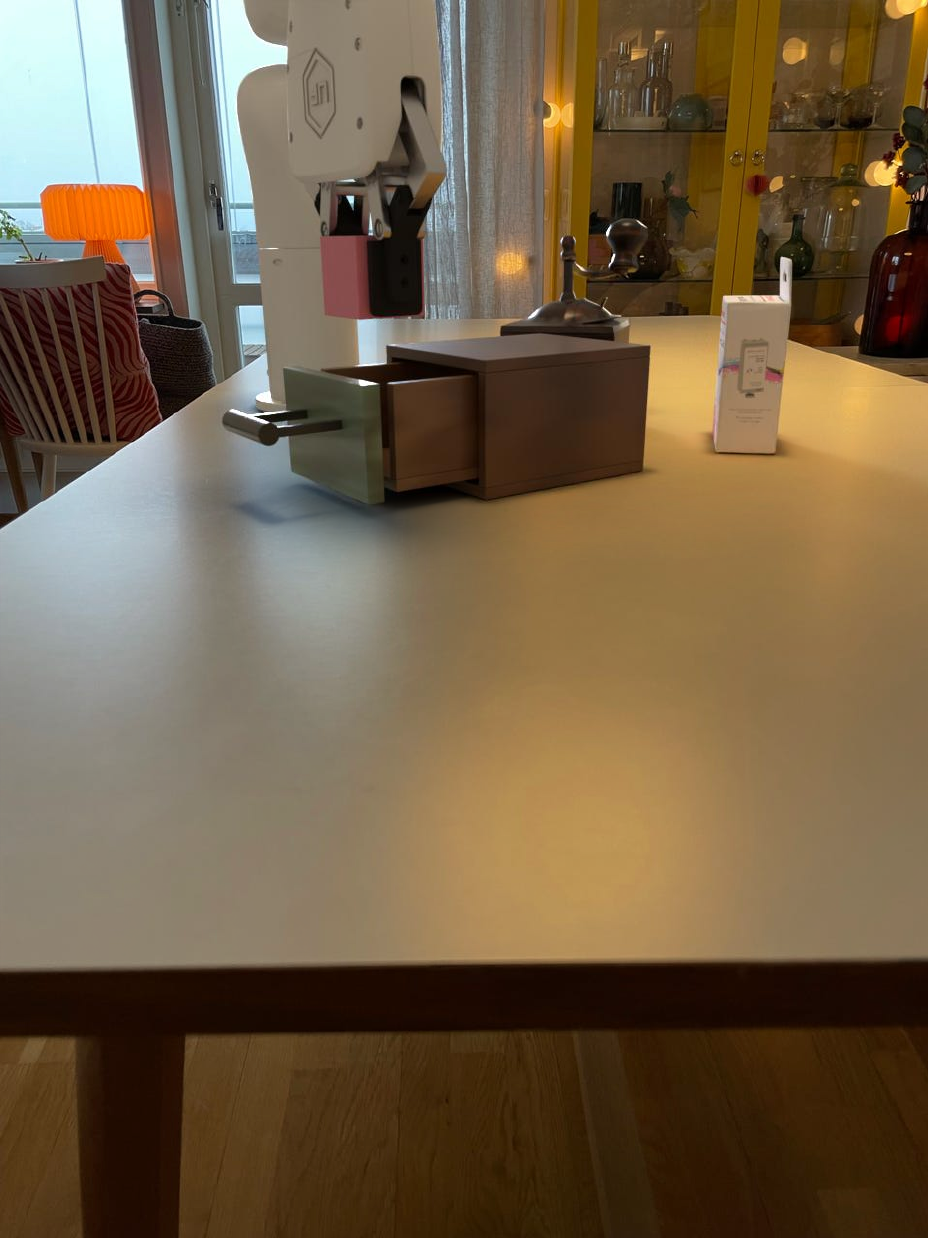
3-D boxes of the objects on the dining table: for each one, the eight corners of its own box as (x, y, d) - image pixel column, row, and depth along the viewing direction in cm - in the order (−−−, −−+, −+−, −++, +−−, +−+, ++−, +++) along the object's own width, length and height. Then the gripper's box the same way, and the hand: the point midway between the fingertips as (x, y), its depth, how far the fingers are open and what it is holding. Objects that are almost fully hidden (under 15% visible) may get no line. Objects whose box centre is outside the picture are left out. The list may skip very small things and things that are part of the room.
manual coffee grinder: (618, 438, 82) (630, 214, 75) (496, 432, 85) (497, 216, 78) (641, 410, 95) (652, 218, 89) (535, 405, 99) (538, 220, 92)
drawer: (283, 520, 55) (273, 394, 53) (214, 483, 64) (202, 373, 61) (537, 475, 65) (539, 367, 63) (447, 448, 74) (446, 353, 71)
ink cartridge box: (708, 433, 84) (724, 256, 78) (766, 434, 83) (786, 256, 77) (712, 453, 76) (730, 258, 70) (776, 455, 75) (799, 258, 69)
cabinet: (485, 500, 63) (485, 360, 59) (390, 466, 72) (385, 344, 69) (643, 470, 70) (651, 345, 67) (538, 443, 80) (540, 333, 77)
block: (324, 315, 56) (319, 235, 54) (387, 311, 58) (385, 235, 57) (359, 319, 53) (355, 235, 51) (425, 315, 55) (423, 234, 53)
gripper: (229, -30, 53) (258, 308, 60) (375, -118, 40) (391, 326, 47) (347, -13, 57) (362, 303, 64) (514, -88, 44) (510, 318, 51)
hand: (374, 309), depth 55 cm, fingers closed on block, 4 cm apart
